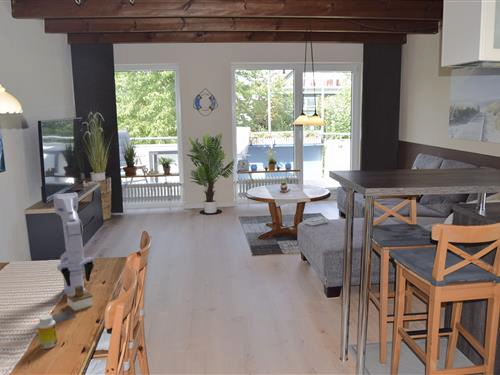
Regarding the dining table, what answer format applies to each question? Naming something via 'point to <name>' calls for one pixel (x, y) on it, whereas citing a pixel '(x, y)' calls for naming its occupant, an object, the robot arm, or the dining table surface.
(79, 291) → the lid
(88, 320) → the dining table surface
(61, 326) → the dining table surface
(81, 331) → the dining table surface
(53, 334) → the supplement bottle
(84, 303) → the dish
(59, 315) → the mat
